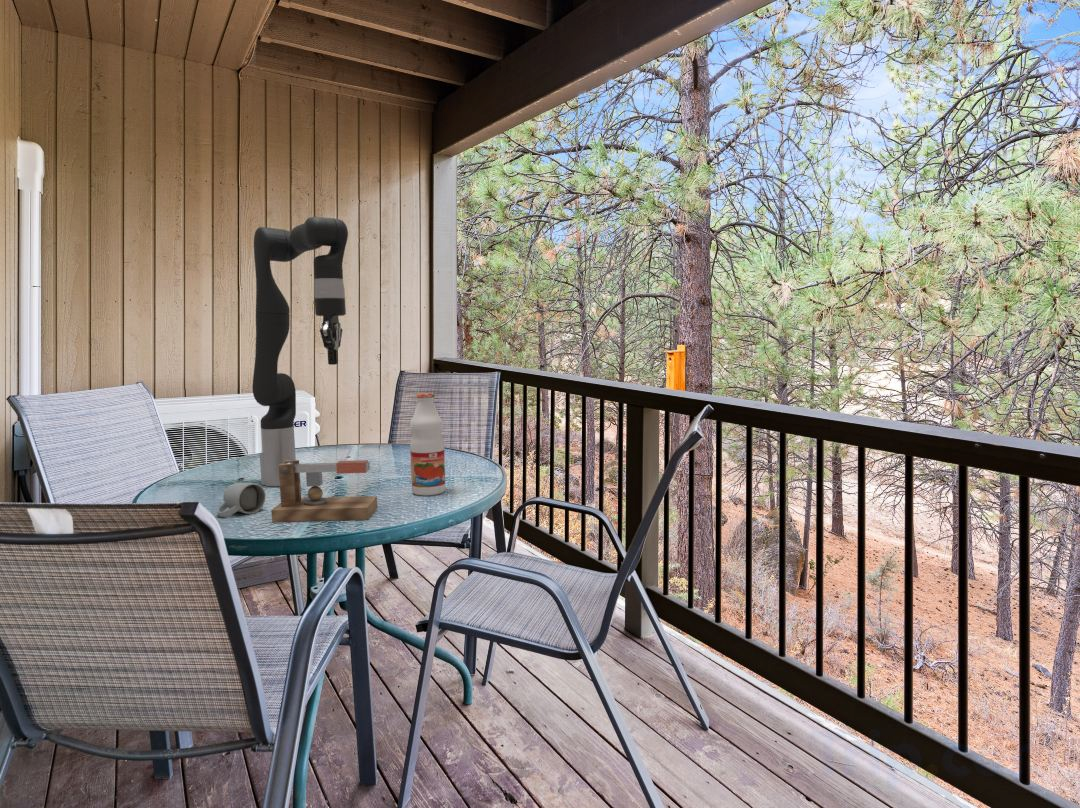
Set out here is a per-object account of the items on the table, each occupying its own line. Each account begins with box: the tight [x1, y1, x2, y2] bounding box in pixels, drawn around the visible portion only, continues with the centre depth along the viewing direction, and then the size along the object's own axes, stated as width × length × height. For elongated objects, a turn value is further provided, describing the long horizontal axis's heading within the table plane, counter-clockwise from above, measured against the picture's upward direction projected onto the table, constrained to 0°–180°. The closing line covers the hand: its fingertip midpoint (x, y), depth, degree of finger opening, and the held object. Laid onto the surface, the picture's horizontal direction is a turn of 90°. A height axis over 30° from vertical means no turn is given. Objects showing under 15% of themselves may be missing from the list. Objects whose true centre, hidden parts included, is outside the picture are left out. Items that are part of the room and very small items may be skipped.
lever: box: [286, 459, 371, 487], centre depth 165 cm, size 21×3×6 cm, turn 92°
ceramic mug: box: [216, 482, 266, 518], centre depth 169 cm, size 11×8×8 cm
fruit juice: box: [409, 392, 446, 497], centre depth 186 cm, size 9×9×28 cm
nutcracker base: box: [270, 459, 378, 523], centre depth 165 cm, size 23×11×14 cm, turn 92°
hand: (333, 364), depth 173 cm, fingers closed
